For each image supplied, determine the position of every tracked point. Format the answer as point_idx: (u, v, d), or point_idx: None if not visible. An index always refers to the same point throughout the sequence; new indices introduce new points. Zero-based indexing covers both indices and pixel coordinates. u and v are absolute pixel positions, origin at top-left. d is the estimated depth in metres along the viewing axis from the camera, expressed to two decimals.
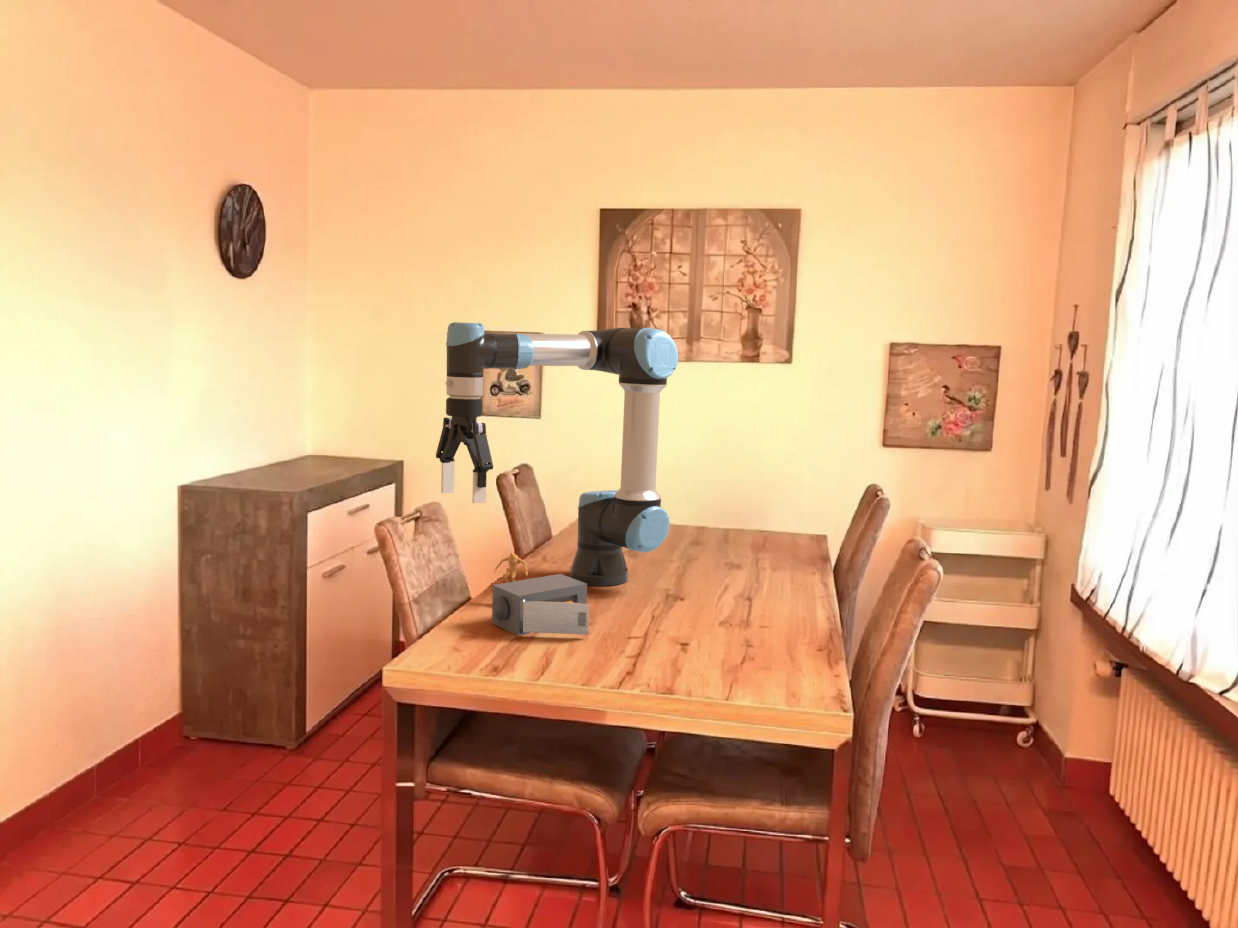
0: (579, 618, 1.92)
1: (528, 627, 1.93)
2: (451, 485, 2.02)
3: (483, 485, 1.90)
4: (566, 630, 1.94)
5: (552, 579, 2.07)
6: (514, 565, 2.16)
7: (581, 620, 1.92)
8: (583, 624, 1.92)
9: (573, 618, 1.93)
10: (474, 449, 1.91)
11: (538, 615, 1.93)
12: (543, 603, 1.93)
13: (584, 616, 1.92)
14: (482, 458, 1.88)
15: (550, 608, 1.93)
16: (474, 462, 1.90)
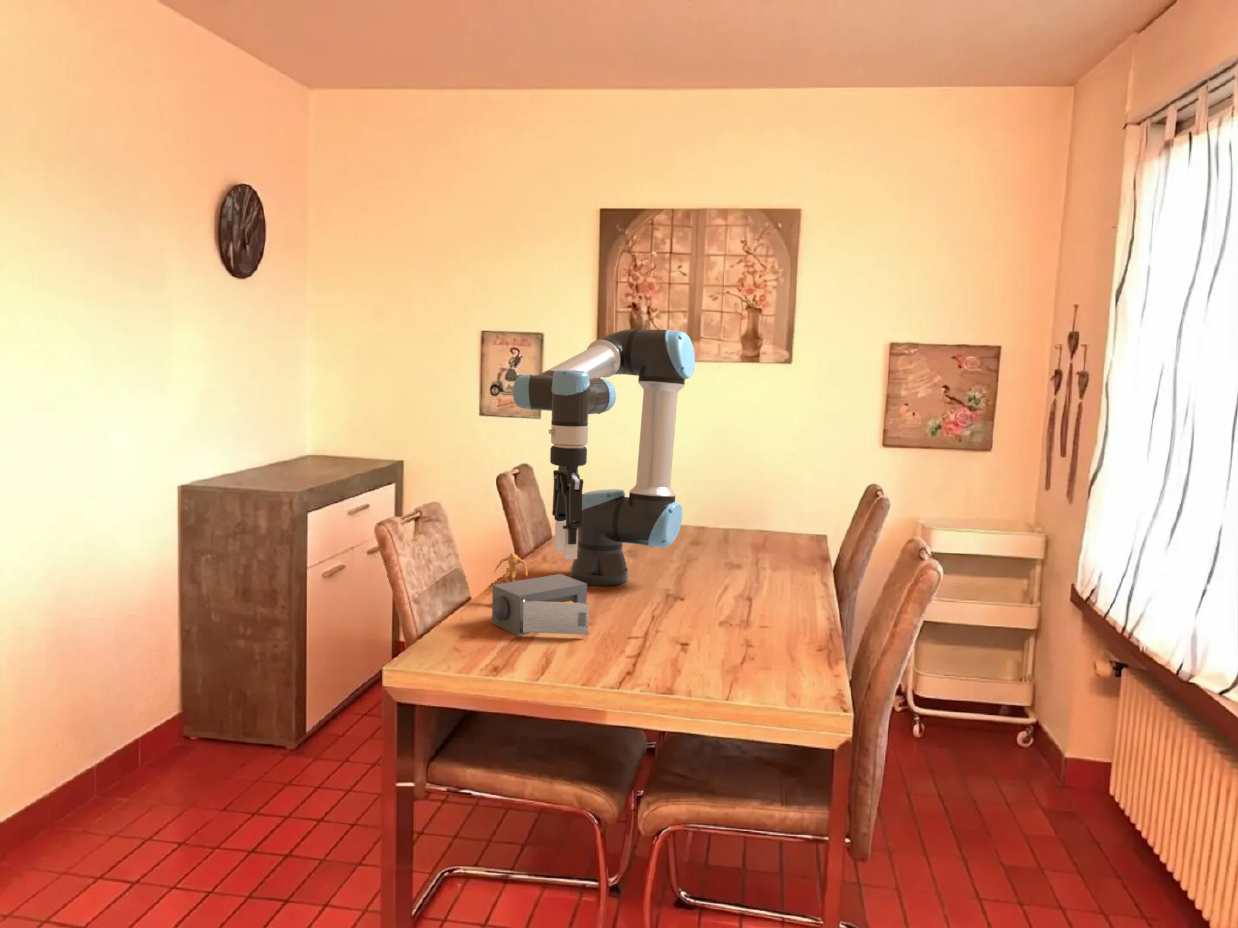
0: (579, 618, 1.92)
1: (528, 627, 1.93)
2: None
3: (573, 542, 1.90)
4: (566, 630, 1.94)
5: (552, 579, 2.07)
6: (514, 565, 2.16)
7: (581, 620, 1.92)
8: (583, 624, 1.92)
9: (573, 618, 1.93)
10: None
11: (538, 615, 1.93)
12: (543, 603, 1.93)
13: (584, 616, 1.92)
14: (572, 516, 1.87)
15: (550, 608, 1.93)
16: (566, 517, 1.90)
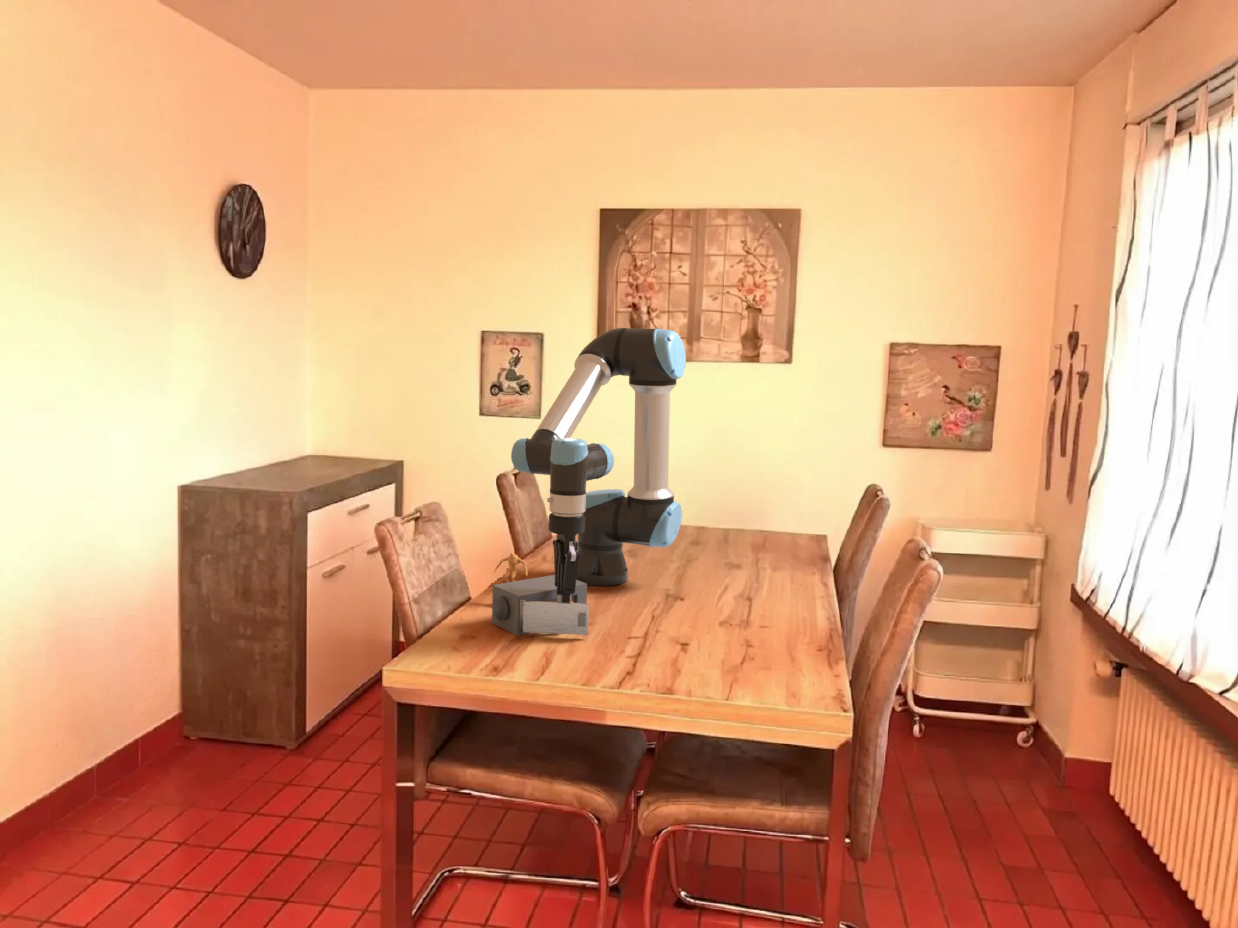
0: (579, 618, 1.92)
1: (528, 627, 1.93)
2: None
3: None
4: (566, 630, 1.93)
5: (552, 579, 2.07)
6: (514, 565, 2.16)
7: (581, 620, 1.92)
8: (583, 624, 1.92)
9: (573, 618, 1.93)
10: None
11: (538, 615, 1.93)
12: (543, 603, 1.93)
13: (584, 616, 1.92)
14: (565, 585, 1.91)
15: (550, 608, 1.93)
16: (561, 584, 1.94)
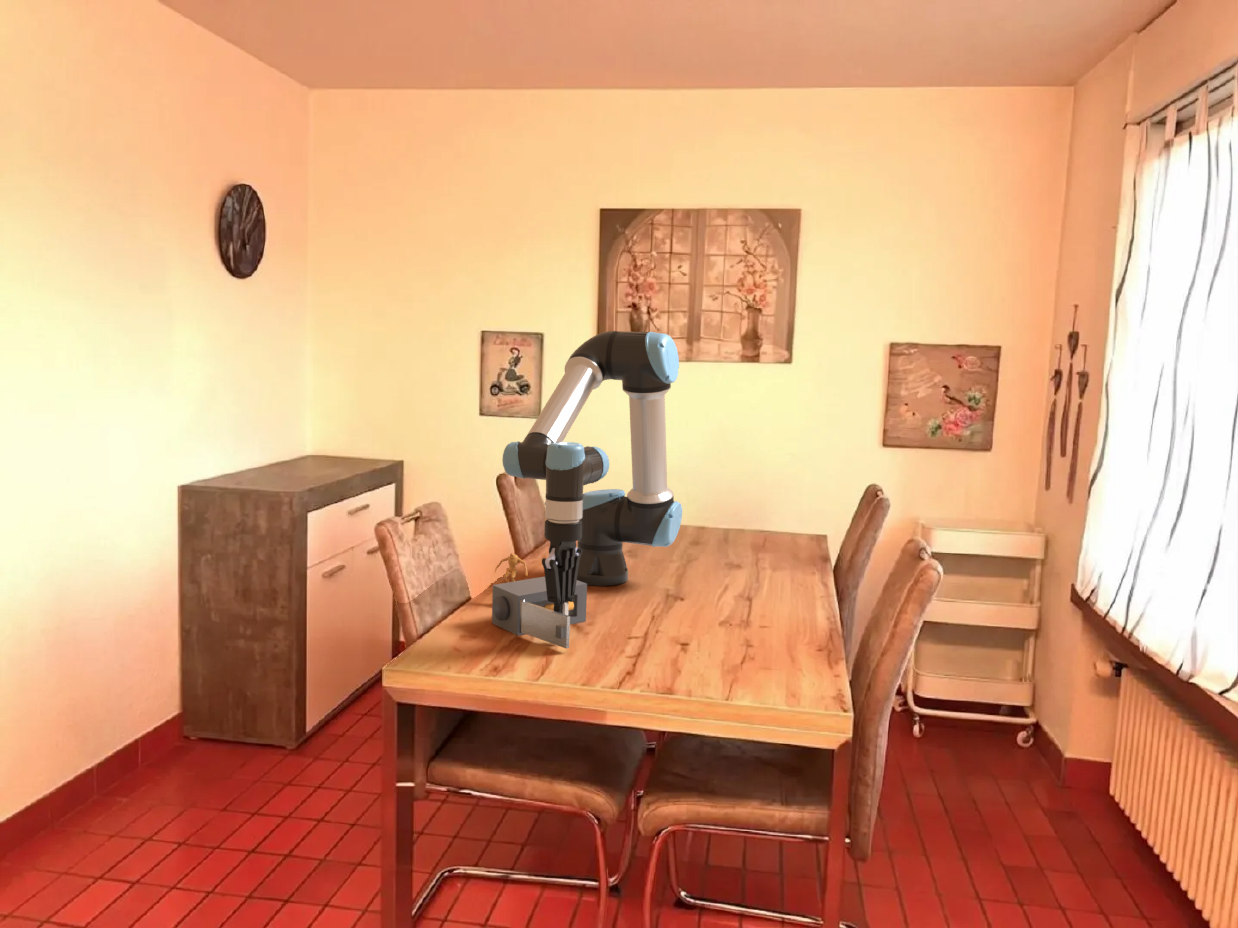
0: (556, 629, 1.84)
1: (524, 628, 1.93)
2: None
3: None
4: (550, 639, 1.87)
5: None
6: (514, 565, 2.16)
7: (558, 631, 1.84)
8: (559, 636, 1.84)
9: (556, 628, 1.86)
10: None
11: (532, 618, 1.91)
12: (535, 607, 1.90)
13: (560, 628, 1.84)
14: (548, 592, 1.86)
15: (540, 613, 1.89)
16: None
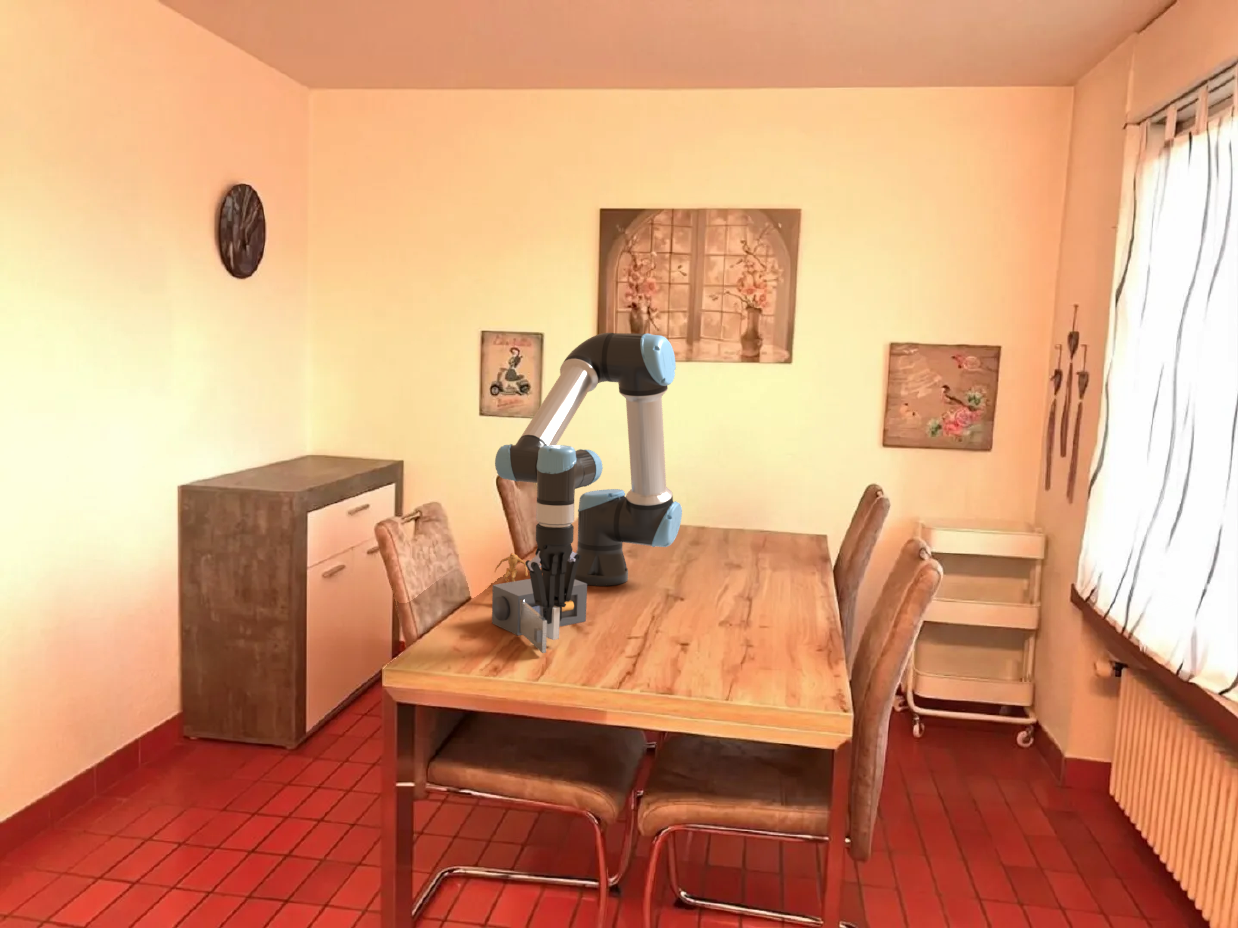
0: (534, 632, 1.82)
1: (522, 628, 1.92)
2: None
3: None
4: (534, 642, 1.85)
5: None
6: (514, 565, 2.16)
7: (535, 635, 1.82)
8: (536, 639, 1.82)
9: None
10: (544, 583, 1.86)
11: (525, 619, 1.90)
12: (527, 608, 1.89)
13: (536, 631, 1.81)
14: (534, 595, 1.85)
15: (529, 615, 1.88)
16: None
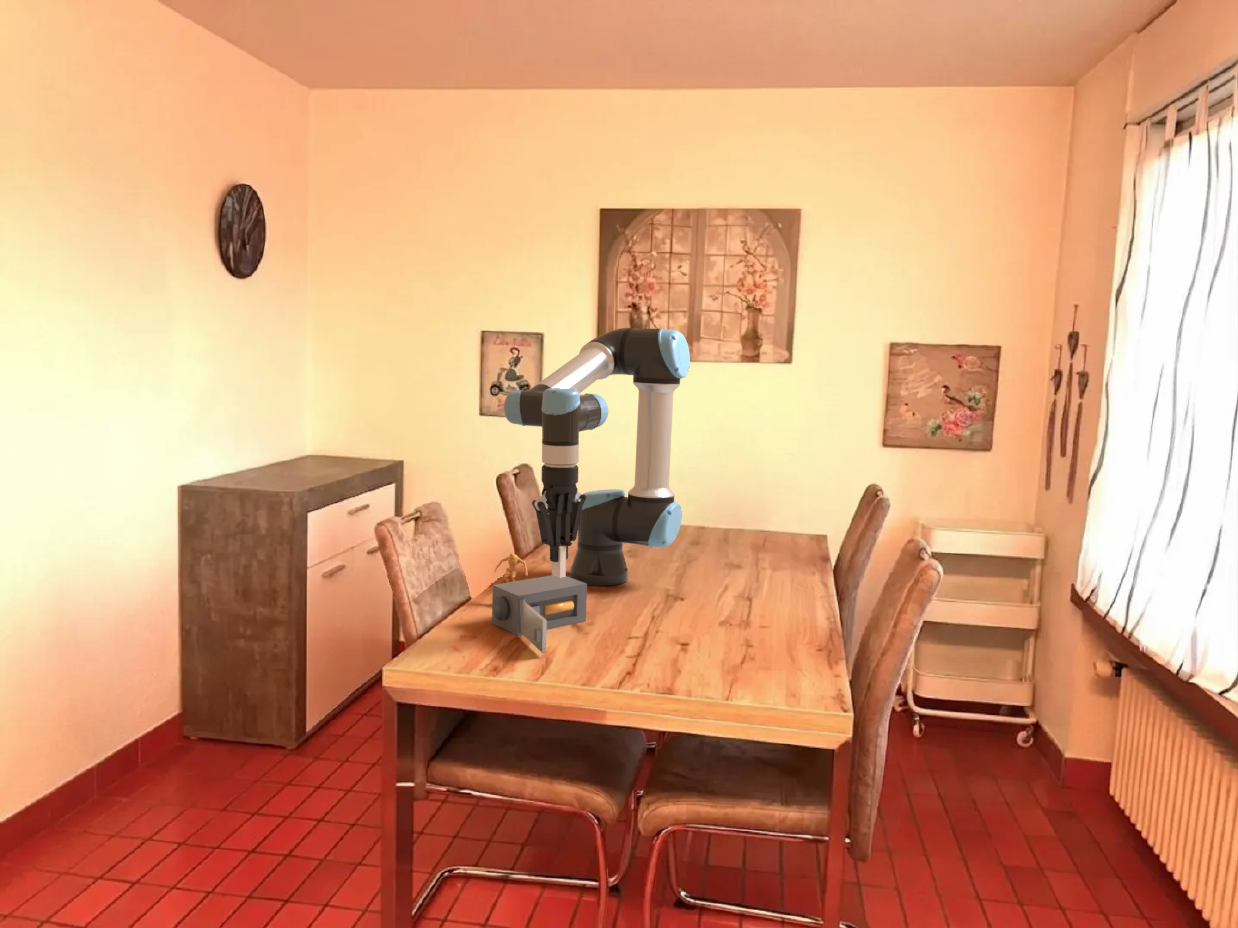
0: (534, 632, 1.82)
1: (522, 628, 1.92)
2: None
3: (552, 559, 1.92)
4: (534, 642, 1.85)
5: (552, 579, 2.07)
6: (514, 565, 2.16)
7: (535, 635, 1.82)
8: (536, 639, 1.82)
9: None
10: (550, 522, 1.91)
11: (525, 619, 1.90)
12: (527, 608, 1.89)
13: (536, 631, 1.81)
14: (541, 534, 1.91)
15: (529, 615, 1.88)
16: None
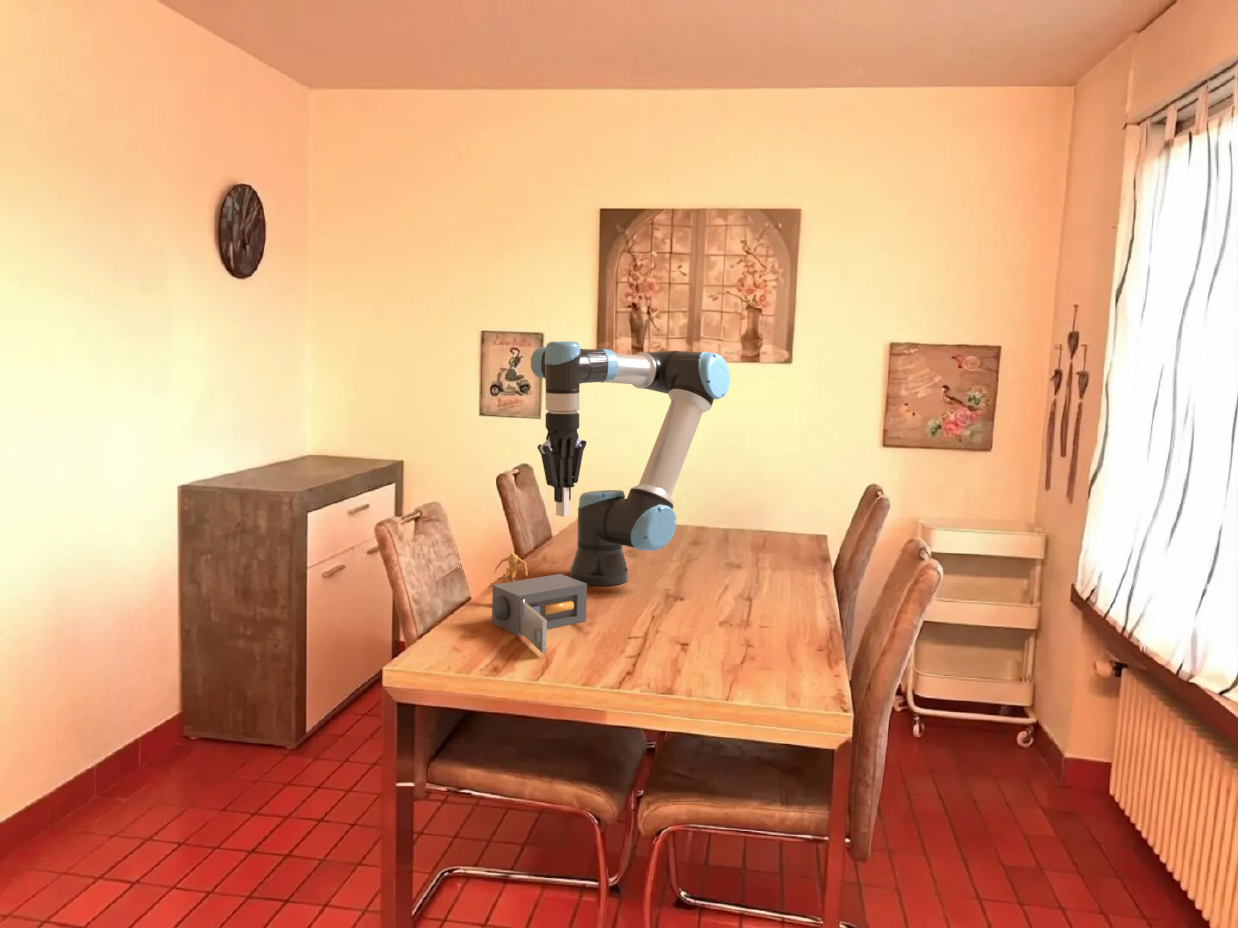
0: (534, 632, 1.82)
1: (522, 628, 1.92)
2: None
3: (556, 500, 2.08)
4: (534, 642, 1.85)
5: (552, 579, 2.07)
6: (514, 565, 2.16)
7: (535, 635, 1.82)
8: (536, 639, 1.82)
9: None
10: (554, 465, 2.08)
11: (525, 619, 1.90)
12: (527, 608, 1.89)
13: (536, 631, 1.81)
14: (546, 476, 2.07)
15: (529, 615, 1.88)
16: None
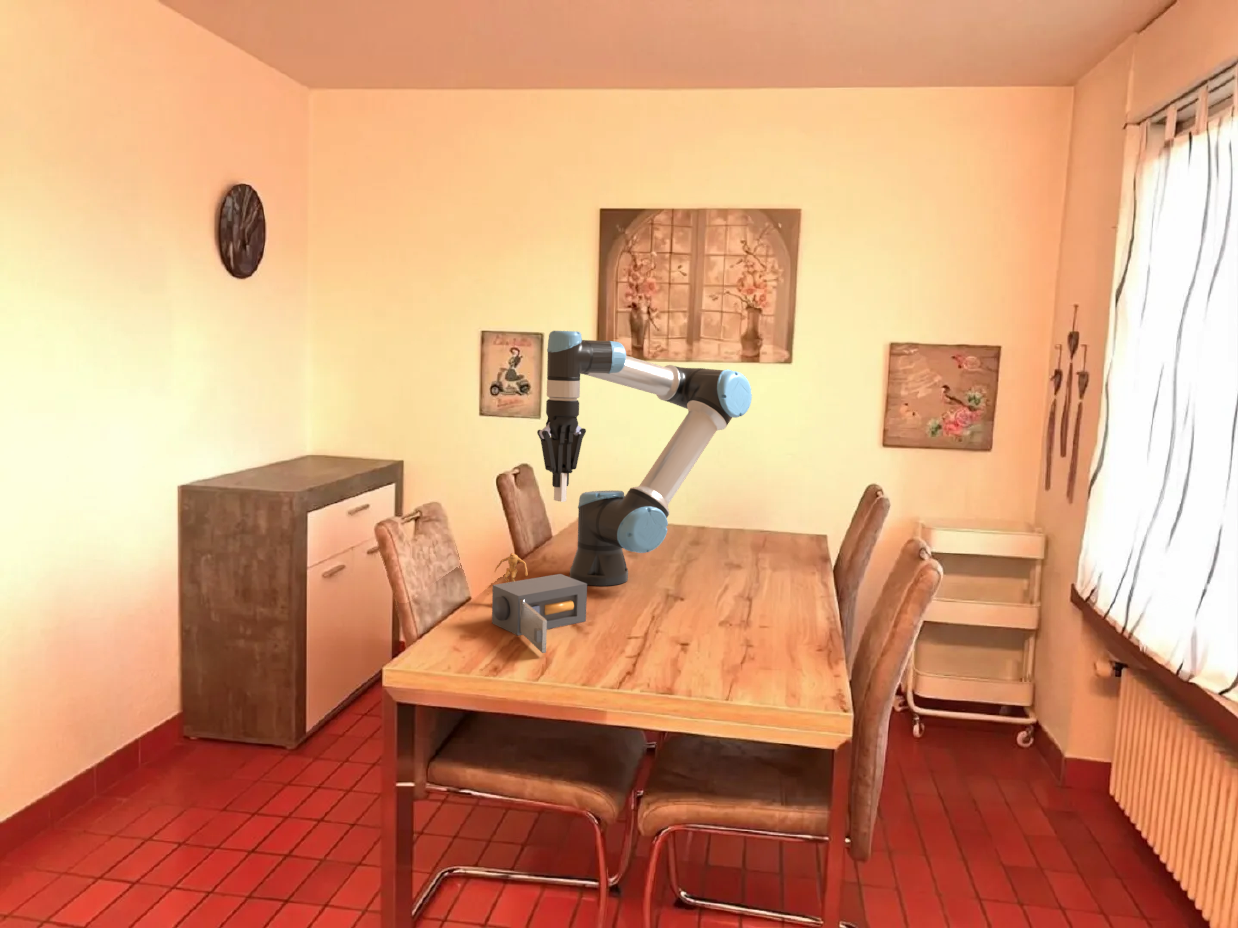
0: (534, 632, 1.82)
1: (522, 628, 1.92)
2: None
3: (554, 485, 2.14)
4: (534, 642, 1.85)
5: (552, 579, 2.07)
6: (514, 565, 2.16)
7: (535, 635, 1.82)
8: (536, 639, 1.82)
9: None
10: (553, 451, 2.13)
11: (525, 619, 1.90)
12: (527, 608, 1.89)
13: (536, 631, 1.81)
14: (545, 461, 2.12)
15: (529, 615, 1.88)
16: None
